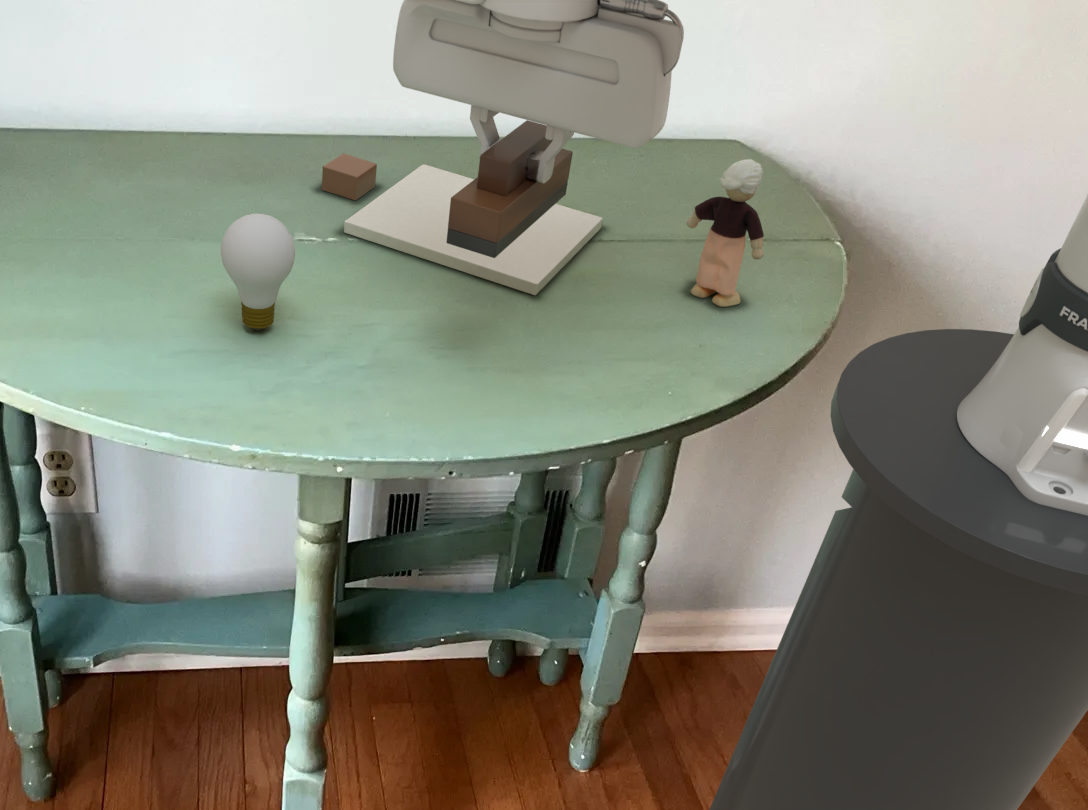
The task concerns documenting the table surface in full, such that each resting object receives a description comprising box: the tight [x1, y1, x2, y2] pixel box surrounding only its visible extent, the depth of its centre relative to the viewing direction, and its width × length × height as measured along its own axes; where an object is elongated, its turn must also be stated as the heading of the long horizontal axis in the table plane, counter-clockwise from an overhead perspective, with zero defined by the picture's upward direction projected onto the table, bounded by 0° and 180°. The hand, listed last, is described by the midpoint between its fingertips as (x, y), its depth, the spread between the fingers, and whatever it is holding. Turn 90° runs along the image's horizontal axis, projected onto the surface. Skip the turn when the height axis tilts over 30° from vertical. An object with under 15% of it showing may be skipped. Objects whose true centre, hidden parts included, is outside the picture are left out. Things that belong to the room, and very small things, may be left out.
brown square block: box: [321, 153, 378, 201], centre depth 119 cm, size 4×4×2 cm
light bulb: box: [220, 213, 296, 332], centre depth 96 cm, size 6×6×10 cm
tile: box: [343, 163, 604, 296], centre depth 115 cm, size 20×16×1 cm
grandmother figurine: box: [685, 158, 765, 308], centre depth 104 cm, size 8×4×13 cm, turn 57°
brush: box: [446, 120, 574, 258], centre depth 89 cm, size 13×4×6 cm, turn 149°
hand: (514, 172), depth 89 cm, fingers closed on brush, 2 cm apart
